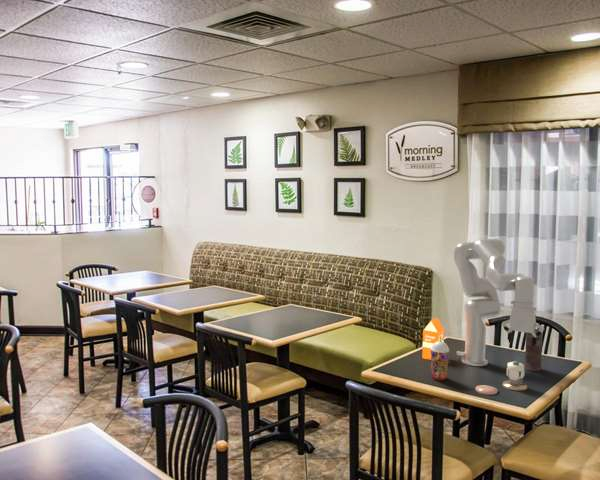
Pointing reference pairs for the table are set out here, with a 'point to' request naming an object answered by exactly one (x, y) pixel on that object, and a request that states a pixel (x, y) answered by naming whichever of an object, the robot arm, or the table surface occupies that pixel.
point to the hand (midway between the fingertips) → (521, 343)
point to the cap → (515, 369)
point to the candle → (533, 352)
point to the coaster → (486, 389)
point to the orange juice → (431, 337)
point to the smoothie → (439, 360)
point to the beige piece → (515, 384)
